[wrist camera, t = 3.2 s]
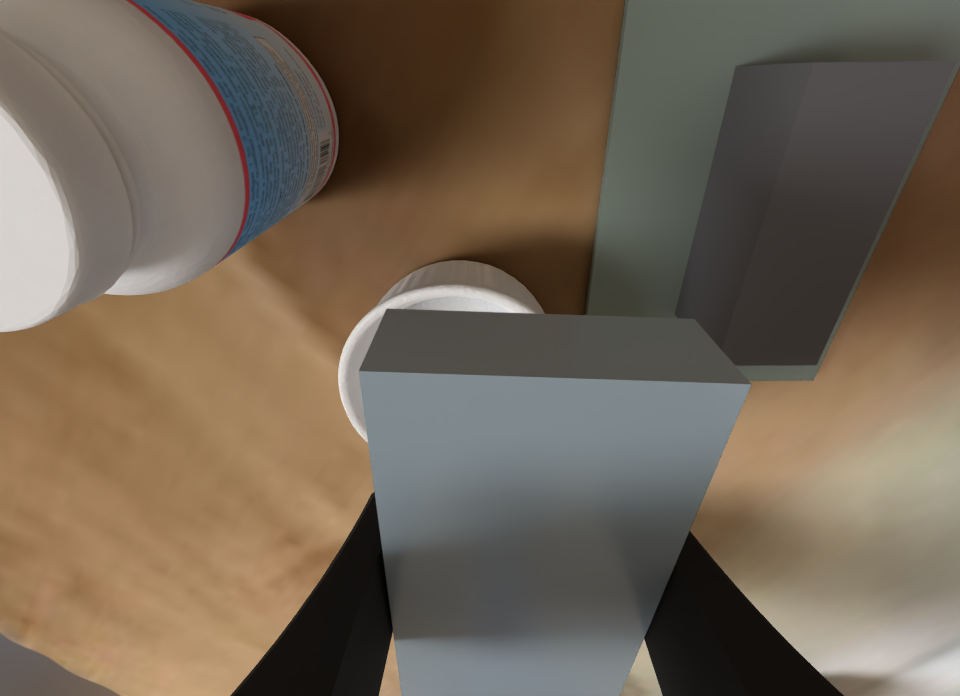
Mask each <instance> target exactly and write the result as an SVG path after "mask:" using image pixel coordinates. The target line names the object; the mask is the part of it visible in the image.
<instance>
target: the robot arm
mask: <svg viewBox="0 0 960 696" xmlns="http://www.w3.org/2000/svg"><path fill="white" fill-rule="evenodd" d="M392 632H393V626H392V619H391V611H390V604H389V596H388V589H387V581H386V574H385V566H384V559H383V551H382V544H381V536H380V529H379V521H378V514H377V506H376V498H375V492H374V493H372V494H371V496H370V498H369V500H368V502H367V504H366V506H365V508H364V510H363V511H362V513H361V515H360V517H359V519H358V520H357V522H356V524H355V526H354V527H353V529H352V531H351V532H350V534H349V536H348V537H347V539H346V541H345V542H344V544H343V546H342V547H341V549H340V550H339V552H338V554H337V555H336V557H335V558H334V560H333V561H332V563H331V564H330V566H329V568H328V569H327V571H326V572H325V574H324V575H323V577H322V578H321V580H320V581H319V583H318V584H317V586H316V587H315V588H314V590H313V591H312V593H311V594H310V595H309V597H308V598H307V600H306V601H305V602H304V604H303V605H302V607H301V608H300V609H299V611H298V612H297V614H296V615H295V616H294V618H293V619H292V621H291V622H290V623H289V624H288V626H287V627H286V628H285V630H284V631H283V632H282V634H281V635H280V636H279V638H278V639H277V640H276V641H275V643H274V644H273V645H272V646H271V648H270V649H269V650H268V651H267V653H266V654H265V655H264V656H263V658H262V659H261V660H260V661H259V663H258V664H257V665H256V666H255V667H254V669H253V670H252V671H251V672H250V673H249V675H248V676H247V677H246V678H245V679H244V680H243V682H242V683H241V684H240V685H239V686H238V687H237V689H236V690H235V691H234V692H233V693H232V694H231V696H379V691H380V687H381V682H382V678H383V673H384V669H385V664H386V659H387V655H388V650H389V646H390V641H391V637H392ZM644 639H645V642H646V645H647V648H648V651H649V654H650V658H651V661H652V664H653V667H654V670H655V673H656V676H657V679H658V682H659V685H660V688H661V692H662V695H663V696H844V695H843V694H842V693H840V692H839V691H838V690H837V689H836V688H835V687H834V686H833V685H832V684H831V683H830V682H829V681H828V680H826V679H825V678H824V677H823V676H822V675H821V674H820V673H819V672H818V671H817V670H816V669H815V668H814V667H813V666H812V665H811V664H810V663H809V662H808V661H807V660H806V659H805V658H804V657H803V656H802V655H801V654H800V653H799V652H798V651H797V650H796V649H795V648H794V647H793V646H792V645H791V644H790V643H789V642H788V641H787V640H786V639H785V638H784V637H783V636H782V635H781V634H780V633H779V632H778V631H777V630H776V629H775V628H774V627H773V626H772V625H771V624H770V623H769V622H768V620H767V619H766V618H765V617H764V616H763V615H762V614H761V613H760V612H759V611H758V610H757V609H756V608H755V606H754V605H753V604H752V603H751V602H750V601H749V600H748V599H747V598H746V597H745V595H744V594H743V593H742V592H741V591H740V590H739V589H738V588H737V586H736V585H735V584H734V583H733V582H732V581H731V579H730V578H729V577H728V576H727V575H726V574H725V573H724V571H723V570H722V569H721V568H720V567H719V566H718V564H717V563H716V562H715V561H714V560H713V559H712V557H711V556H710V555H709V554H708V553H707V551H706V550H705V549H704V548H703V546H702V545H701V544H700V543H699V542H698V540H697V539H696V538H695V537H694V535H693V534H692V533H691V532H690V531H689V533H688V535H687V538H686V540H685V543H684V545H683V547H682V550H681V552H680V554H679V557H678V559H677V561H676V564H675V566H674V569H673V571H672V573H671V576H670V578H669V580H668V583H667V585H666V587H665V590H664V592H663V594H662V597H661V599H660V602H659V604H658V606H657V609H656V611H655V613H654V616H653V618H652V620H651V623H650V625H649V628H648V630H647V632H646V635H645V637H644Z"/></svg>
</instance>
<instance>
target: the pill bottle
mask: <svg viewBox="0 0 960 696" xmlns="http://www.w3.org/2000/svg"><path fill="white" fill-rule="evenodd" d="M338 145H339V129H338V122H337V116H336V112H335V108H334V105H333V102H332V99H331V97H330V95H329V92H328V90H327V88H326V86H325V84H324V82H323V81H322V79H321V77H320V76H319V74H318V73H317V71H316V70H315V68H314V67H313V66H312V64H311V63H310V62H309V61H308V59H307V58H306V57H305V56H304V55H303V54H302V52H301V51H300V50H299V49H298V48H297V47H296V46H295V45H294V44H293V43H292V42H291V41H290V40H288V39H287V38H286V37H285V36H283V35H282V34H281V33H280V32H278V31H277V30H276V29H274V28H273V27H271V26H269V25H267V24H266V23H264V22H262V21H260V20H258V19H255V18H253V17H250V16H247V15H244V14H241V13H238V12H234V11H230V10H227V9H223V8H219V7H215V6H210V5H206V4H202V3H198V2H194V1H190V0H0V332H10V331H17V330H23V329H27V328H31V327H35V326H38V325H40V324H42V323H45V322H47V321H49V320H51V319H54V318H56V317H58V316H60V315H62V314H64V313H66V312H67V311H69V310H71V309H73V308H75V307H77V306H78V305H81V304H85V303H87V302H90V301H92V300H94V299H96V298H97V297H99V296H101V295H103V294H114V295H142V294H151V293H157V292H162V291H166V290H169V289H173V288H175V287H178V286H181V285H183V284H186V283H188V282H190V281H192V280H194V279H195V278H197V277H199V276H200V275H202V274H203V273H205V272H206V271H208V270H210V269H211V268H213V267H214V266H215V265H217V264H218V263H220V262H221V261H222V260H224V259H225V258H227V257H228V256H230V255H231V254H233V253H234V252H235V251H237V250H238V249H240V248H241V247H243V246H244V245H246V244H247V243H249V242H250V241H251V240H253V239H254V238H256V237H257V236H259V235H260V234H262V233H263V232H264V231H266V230H267V229H269V228H270V227H272V226H273V225H275V224H276V223H278V222H279V221H281V220H282V219H283V218H285V217H286V216H288V215H289V214H290V213H292V212H293V211H295V210H296V209H297V208H299V207H300V206H302V205H303V204H304V203H306V202H307V201H309V200H310V199H311V198H313V197H314V196H315V195H316V194H317V193H318V192H319V191H320V190H321V189H322V188H323V186H324V185H325V184H326V182H327V181H328V179H329V177H330V175H331V173H332V171H333V168H334V165H335V162H336V158H337V153H338Z"/></svg>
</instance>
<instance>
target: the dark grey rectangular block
mask: <svg viewBox="0 0 960 696" xmlns="http://www.w3.org/2000/svg"><path fill="white" fill-rule="evenodd" d="M956 62H957V61H901V62H811V63H791V64H772V65H752V66H736V67H735V71H734V75H733V79H732V83H731V87H730V91H729V95H728V99H727V103H726V107H725V112H724V116H723V120H722V124H721V128H720V132H719V136H718V140H717V144H716V148H715V152H714V156H713V160H712V164H711V169H710V173H709V177H708V181H707V185H706V189H705V193H704V197H703V201H702V205H701V209H700V213H699V217H698V221H697V226H696V230H695V234H694V238H693V242H692V246H691V250H690V254H689V258H688V262H687V266H686V270H685V274H684V278H683V283H682V287H681V291H680V295H679V299H678V303H677V307H676V311H675V315H676V317H677V318H682V319H695V320H696V321H697V322H698V324H699V325H700V326H701V327H702V328H703V329H704V330H705V332H706V333H707V334H708V335H709V336H710V337H711V339H712V340H713V341H714V342H715V343H716V344H717V345H718V347H719V348H720V349H721V350H722V351H723V352H724V353H725V355H726V356H727V357H728V358H729V359H730V360H731V361H732V363H733V364H734V365H735V366H805V365H817V363H818V361H819V359H820V357H821V355H822V352H823V350H824V348H825V346H826V344H827V342H828V340H829V337H830V335H831V333H832V331H833V329H834V327H835V324H836V322H837V320H838V318H839V316H840V314H841V311H842V309H843V307H844V305H845V303H846V301H847V298H848V296H849V294H850V292H851V290H852V288H853V285H854V283H855V281H856V279H857V277H858V275H859V272H860V270H861V268H862V266H863V264H864V262H865V259H866V257H867V255H868V253H869V251H870V249H871V246H872V244H873V242H874V240H875V238H876V236H877V233H878V231H879V229H880V227H881V225H882V223H883V220H884V218H885V216H886V214H887V212H888V210H889V207H890V205H891V203H892V201H893V199H894V197H895V194H896V192H897V190H898V188H899V186H900V184H901V181H902V179H903V177H904V175H905V173H906V171H907V168H908V166H909V164H910V162H911V160H912V158H913V155H914V153H915V151H916V149H917V147H918V145H919V142H920V140H921V138H922V136H923V134H924V132H925V129H926V127H927V125H928V123H929V121H930V119H931V116H932V114H933V112H934V110H935V108H936V106H937V103H938V101H939V99H940V97H941V95H942V93H943V90H944V88H945V86H946V84H947V82H948V80H949V77H950V75H951V73H952V71H953V69H954V67H955V64H956Z"/></svg>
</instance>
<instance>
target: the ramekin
mask: <svg viewBox="0 0 960 696" xmlns="http://www.w3.org/2000/svg"><path fill="white" fill-rule="evenodd" d="M386 309H416V310H446V311H475V312H505V313H534V314H545V313H544V311H543V309H542V308H541V306H540V304H539V303H538V302H537V301H536V299H535V297H534V296H533V295H532V294H531V293H530V292H529V291H528V290H527V288H526V287H525V286H524V285H523V284H521V283H520V282H519V281H517V280H516V279H515V278H514V277H512V276H510V275H509V274H507V273H505V272H504V271H503V270H500V269H498V268H496V267H493V266H491V265H488V264H483V263H480V262H473V261H466V260H451V261H445V262H438V263H434V264H431V265H427V266H425V267H422V268H420V269H418V270H416V271H414V272H412V273H411V274H409V275H407V276H406V277H404V278H402V279H401V280H400V281H399V282H398V283H397V284H395V285H394V286H393V287H392V288H391V289H390V290H389V291H388V293H387V294H386V295H385V296H384V297H383V298H382V299H381V301H380V302H379V303H378V305H377V306H376V307H374V308H373V309H372V310H371V311H370V312H369V313H367V314H366V315H365V316H364V317H363V318H362V320H361V321H360V322H359V323H358V324H357V326H356V327H355V328H354V330H353V331H352V333H351V334H350V336H349V338H348V340H347V342H346V344H345V346H344V348H343V350H342V354H341V358H340V363H339V372H338V382H339V391H340V396H341V400H342V404H343V406H344V408H345V411H346V413H347V415H348V417H349V419H350V421H351V423H352V425H353V426H354V428H355V429H356V430H357V431H358V433H359V434H360V435H361V436H362V437H363V438H364V439H365V440H366V441H367V442H368V438H367V431H366V423H365V416H364V408H363V401H362V393H361V386H360V378H359V369H360V367H361V365H362V362H363V360H364V358H365V356H366V353H367V351H368V349H369V347H370V344H371V342H372V340H373V338H374V336H375V333H376V331H377V329H378V327H379V324H380V322H381V320H382V318H383V315H384V313H385V311H386Z"/></svg>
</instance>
